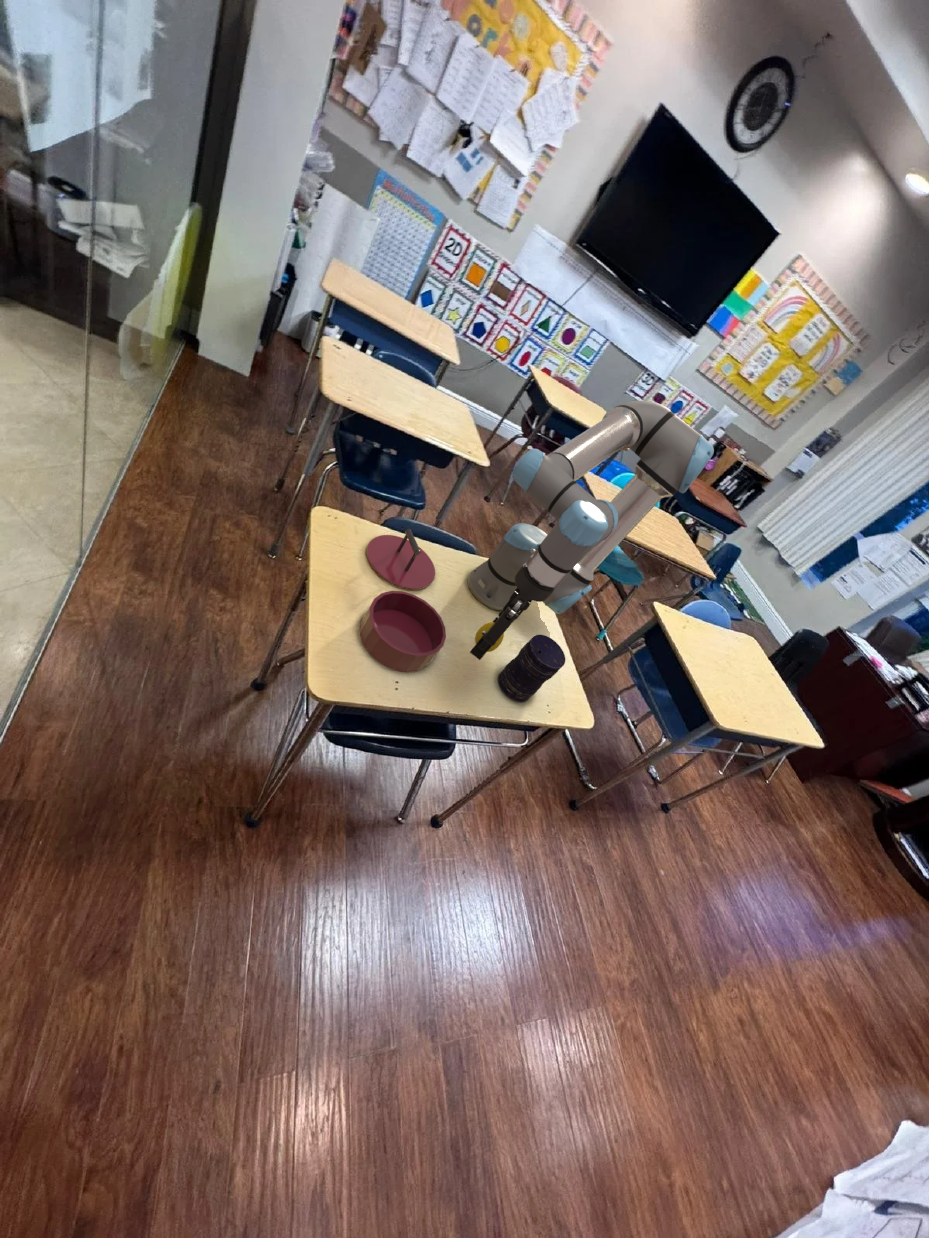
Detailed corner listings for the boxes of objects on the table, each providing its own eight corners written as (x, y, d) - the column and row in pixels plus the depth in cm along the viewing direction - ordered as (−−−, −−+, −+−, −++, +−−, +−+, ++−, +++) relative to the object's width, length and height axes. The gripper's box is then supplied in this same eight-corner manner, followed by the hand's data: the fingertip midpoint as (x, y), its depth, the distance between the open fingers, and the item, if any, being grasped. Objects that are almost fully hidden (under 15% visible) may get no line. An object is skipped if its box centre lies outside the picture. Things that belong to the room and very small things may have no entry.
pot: (419, 609, 130) (430, 592, 126) (444, 670, 121) (457, 654, 117) (351, 607, 119) (360, 589, 115) (372, 674, 110) (383, 657, 106)
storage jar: (519, 667, 134) (552, 633, 125) (537, 699, 130) (572, 666, 120) (490, 671, 128) (523, 635, 119) (508, 705, 123) (543, 670, 114)
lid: (420, 541, 149) (433, 518, 143) (443, 593, 139) (458, 570, 133) (357, 534, 137) (369, 508, 132) (377, 589, 127) (391, 564, 122)
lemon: (489, 663, 109) (508, 640, 104) (466, 651, 108) (485, 627, 103) (492, 645, 113) (511, 623, 108) (470, 634, 112) (489, 610, 107)
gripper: (539, 543, 103) (482, 615, 118) (509, 583, 89) (449, 660, 103) (568, 566, 103) (508, 635, 118) (544, 610, 89) (478, 683, 103)
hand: (480, 647), depth 110 cm, fingers closed on lemon, 5 cm apart
